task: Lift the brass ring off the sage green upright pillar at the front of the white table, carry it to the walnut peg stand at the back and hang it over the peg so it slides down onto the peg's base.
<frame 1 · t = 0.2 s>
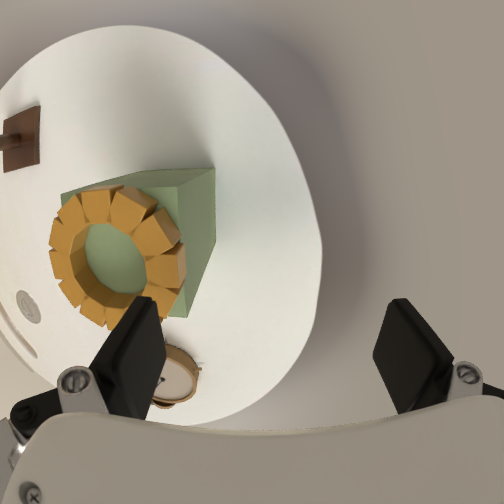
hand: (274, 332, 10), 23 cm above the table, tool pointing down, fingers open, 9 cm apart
sage green upright pillar: (178, 206, 32), on the table
brass ring: (112, 262, 16), point 17 cm above the table, touching sage green upright pillar
peg stand: (22, 140, 27), on the table
alarm clock: (162, 370, 42), on the table
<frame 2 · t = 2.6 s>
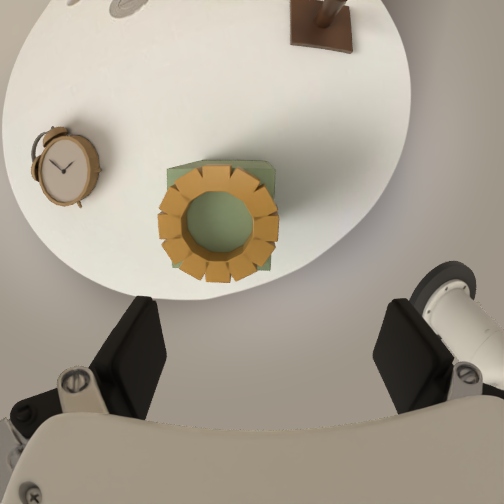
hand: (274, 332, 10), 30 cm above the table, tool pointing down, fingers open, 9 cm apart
sage green upright pillar: (232, 191, 38), on the table
brass ring: (218, 224, 22), point 17 cm above the table, touching sage green upright pillar
peg stand: (320, 25, 28), on the table
alarm clock: (68, 163, 36), on the table
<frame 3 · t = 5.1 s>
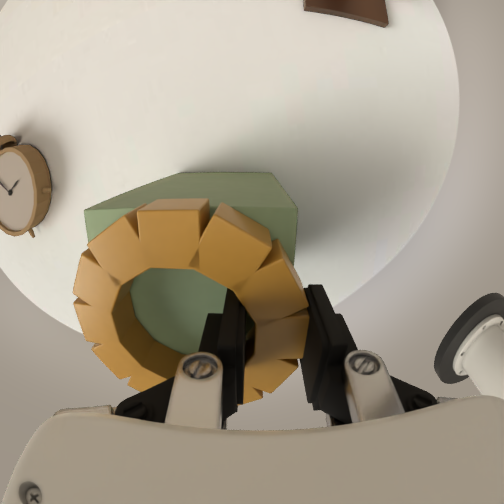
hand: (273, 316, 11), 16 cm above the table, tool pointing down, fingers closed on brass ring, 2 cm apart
sage green upright pillar: (223, 217, 27), on the table
brass ring: (185, 321, 11), point 17 cm above the table, touching gripper, sage green upright pillar
alarm clock: (19, 179, 25), on the table
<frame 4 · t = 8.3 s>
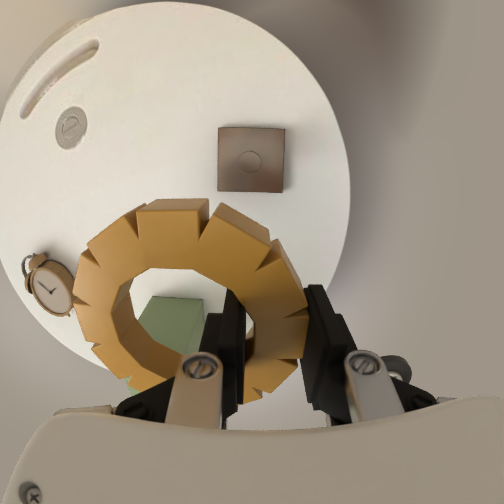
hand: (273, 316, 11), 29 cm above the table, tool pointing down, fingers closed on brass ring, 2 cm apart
sage green upright pillar: (179, 319, 46), on the table
brass ring: (185, 321, 11), point 30 cm above the table, touching gripper
peg stand: (250, 159, 37), on the table
alarm clock: (53, 279, 44), on the table
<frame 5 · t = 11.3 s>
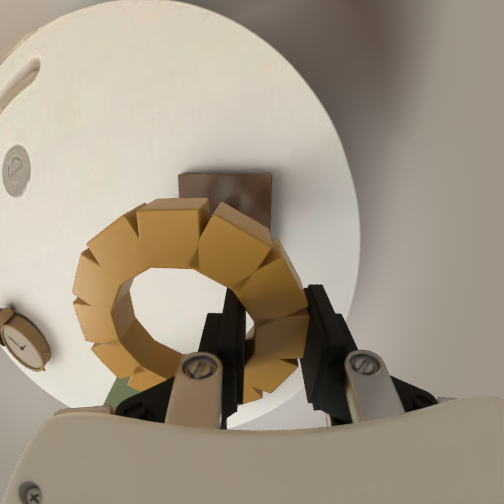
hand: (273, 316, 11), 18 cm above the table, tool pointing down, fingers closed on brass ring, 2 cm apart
sage green upright pillar: (156, 386, 37), on the table
brass ring: (185, 321, 11), point 18 cm above the table, touching gripper
peg stand: (225, 216, 28), on the table
alarm clock: (24, 332, 35), on the table
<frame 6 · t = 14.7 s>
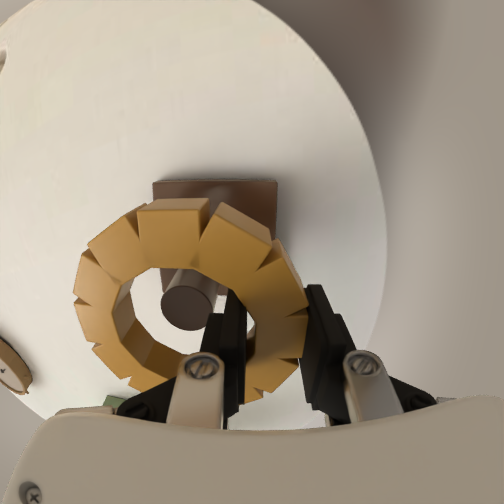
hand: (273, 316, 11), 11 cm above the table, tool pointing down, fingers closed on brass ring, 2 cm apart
brass ring: (185, 321, 11), point 11 cm above the table, touching gripper
peg stand: (215, 237, 21), on the table
alarm clock: (4, 352, 29), on the table
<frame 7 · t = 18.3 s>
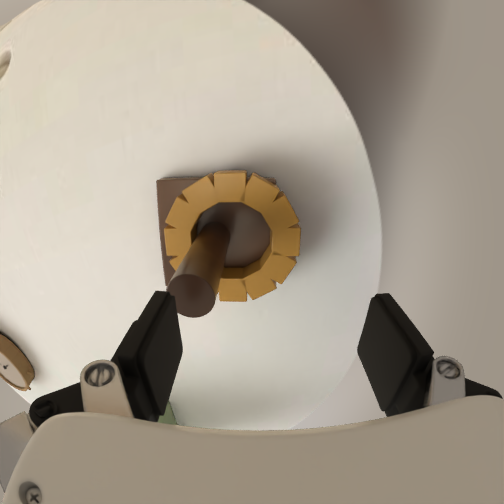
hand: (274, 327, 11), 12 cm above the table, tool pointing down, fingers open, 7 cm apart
brass ring: (232, 237, 20), point 2 cm above the table, touching peg stand
peg stand: (216, 232, 22), on the table
alarm clock: (6, 349, 30), on the table
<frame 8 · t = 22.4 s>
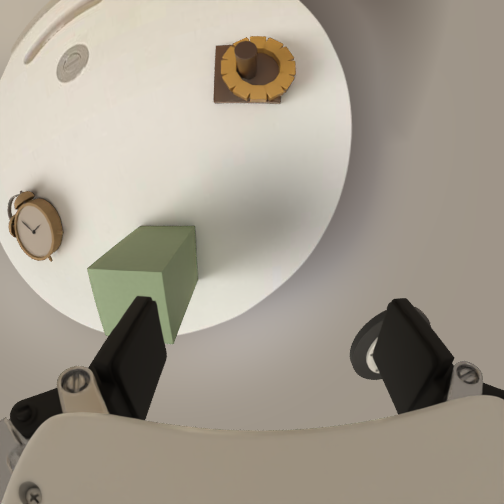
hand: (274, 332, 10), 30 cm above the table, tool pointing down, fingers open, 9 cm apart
sage green upright pillar: (168, 253, 42), on the table
brass ring: (258, 68, 30), point 2 cm above the table, touching peg stand
peg stand: (247, 74, 32), on the table
alarm clock: (38, 220, 40), on the table
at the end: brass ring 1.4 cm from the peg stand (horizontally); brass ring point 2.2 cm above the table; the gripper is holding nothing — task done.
